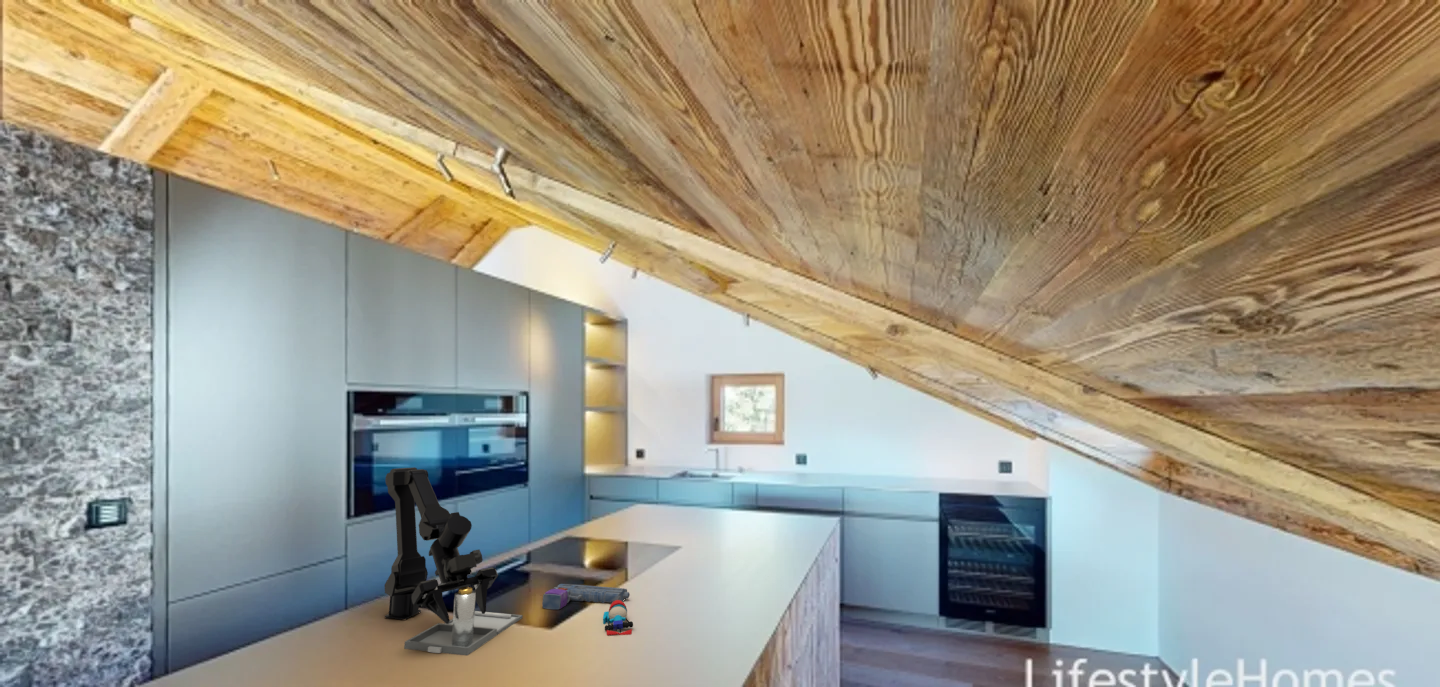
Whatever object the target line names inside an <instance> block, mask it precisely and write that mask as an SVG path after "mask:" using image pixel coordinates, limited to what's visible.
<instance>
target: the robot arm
mask: <svg viewBox="0 0 1440 687" xmlns="http://www.w3.org/2000/svg"><path fill="white" fill-rule="evenodd" d="M385 485H386V487H387V493H388V495H389V496H390V497H391V498H392V500H393V501H394V506H395V507H394V508H395V522H396V523H395V526H396V527H395V528H396V544H397V545H396V546H397V556H396V558H395V559H394V561H393V564H392V565H391V570H390V571H391V572H390V575H389V576H388V578H387V580H386V582H385V583H384V594H386V595H387V596H389V603H388V604H389V608H388V613H387V614H385V615H384V617H386V618H385V619H391V618H395V619H394V620H401V619H406V620H408V619H410V618H412V617H414V616H416V615H418V614H420V613H421V612H422V610H421V609H419V607H421V608H426V609H427V610H429V611H430V612H432V613H433V614H434V615H436V616H437V617H438V618H439V619H440V620H441V621H442V622H444V623H446V624H448V623H449V621H450V620H451V619H450V615H449V612H448V609H447V607H446V604H445V601H444V598H443V593H446V592H449V591H454V590H459V588H461V587H472V588H473V589H472V590H474V591H476V599H475V603H476V604H477V607H478V609H479V610H480V611H481V612H482V614H485V612H487V598H488V597H487V594H488V589H489V588H491V587H492V585H493V583H494V582H495V581H496V579H497V578H498V576H499V574H498V571H497V569H496V568H495V567H487V568H482V569H479V570H478V571H477V573H476V574H475V575H474V576H471V577H468V576H469V575H471V574H472V569H473V568H477V566H478V565H479V564H481V563H482V562H483V554H482V552H481V550H480V549H475V550H472V551H470V552H469V553H468V554H467V553H466V554H460V552H459V549H458V548H459V547H461V546H462V545H463V544H464V541H465V540H466V538H467V536H468V535H469V533H470V532H471V530H472V526H473V525H472V522H471V521H470V520H469V519H468V518H467V517H465V515H464V516H463V515H461V514H460V512H459V511H457V512H450V511H449V510H448V509H446V508H444V507H442V506H441V504H440V502H439V501H438V499H437V495H436V493H435V491H434V489H433V487H432V484H431V482H430V480H429V472H428V470H427V469H421V468H420V469H418V468H417V467H403V468H402V467H401V468H392V469H390V471H389V472H388V473H386V475H385ZM415 505H416V506H415ZM416 507H417V510H418V512H419V515H420V520H419V523H418V531H419V532H418V533H419V536H420V537H421V538H422V541H433V540H434V541H433V542H432V543H431V546H429V547H430V548H429V550H428V556H429V557H431V556H432V559H433V561H434V565H435V569H436V570H435V572H434V574H435V576H436V577H437V576H438V578H439V580H440V583H439V581H438V579H436V578H433V579H429V580H427V579H428V575H429V574H428V569H427V566H426V565H427V564H426V561H427V560H426V557H425V555H423V556H422V555H421V554H420V552H419V550H418V539H417V524H416V521H417V520H416ZM419 612H420V613H419ZM417 613H418V614H417ZM415 614H416V615H415ZM413 615H414V616H413ZM411 616H412V617H411ZM409 617H410V618H409ZM407 618H408V619H407Z"/></svg>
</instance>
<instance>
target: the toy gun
mask: <svg viewBox="0 0 1440 687" xmlns="http://www.w3.org/2000/svg"><path fill="white" fill-rule="evenodd" d="M629 597H630V592H629V591H628V589H627V588H622V587H608V586H594V585H586V584H584V585H583V584H572V583H560V584H558V585H557V586H554V587H553V588H550V589H549V590H547V591H545V592H544V594H543V595H542V609H548V610H561V609H562V608H564V607H565V606H567V604H568V603H570V601H573V602H574V601H576V602H583V601H585V602H588V603H590V602H594V603H603V604H605V603H613V602H614V601H616V600H620V601H623V600H624V599H626V600H628V599H629ZM624 601H625V600H624ZM624 601H623V602H624Z"/></svg>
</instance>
